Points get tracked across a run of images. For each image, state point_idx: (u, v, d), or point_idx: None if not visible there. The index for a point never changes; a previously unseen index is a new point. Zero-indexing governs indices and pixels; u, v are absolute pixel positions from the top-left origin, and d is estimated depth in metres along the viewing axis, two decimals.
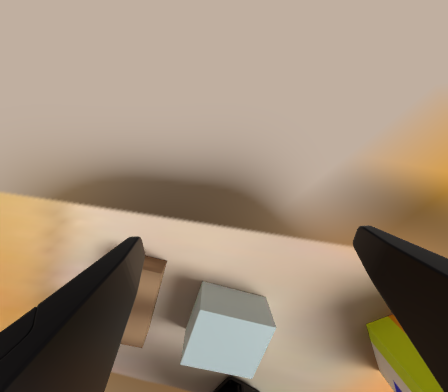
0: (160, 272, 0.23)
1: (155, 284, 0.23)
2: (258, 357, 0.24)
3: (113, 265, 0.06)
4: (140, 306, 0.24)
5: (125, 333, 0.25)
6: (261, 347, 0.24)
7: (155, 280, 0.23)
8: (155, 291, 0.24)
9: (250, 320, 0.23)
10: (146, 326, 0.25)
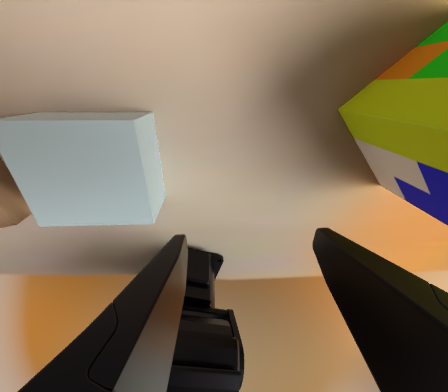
0: None
1: None
2: (140, 187, 0.15)
3: (171, 262, 0.06)
4: None
5: None
6: (133, 167, 0.14)
7: None
8: None
9: (83, 120, 0.13)
10: None
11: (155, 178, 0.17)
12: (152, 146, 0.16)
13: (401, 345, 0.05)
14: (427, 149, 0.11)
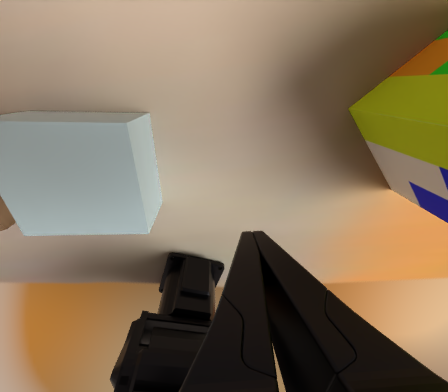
0: None
1: None
2: (134, 195, 0.14)
3: (256, 258, 0.06)
4: None
5: None
6: (126, 174, 0.13)
7: None
8: None
9: (70, 121, 0.11)
10: None
11: (151, 184, 0.16)
12: (148, 150, 0.15)
13: (294, 352, 0.05)
14: None
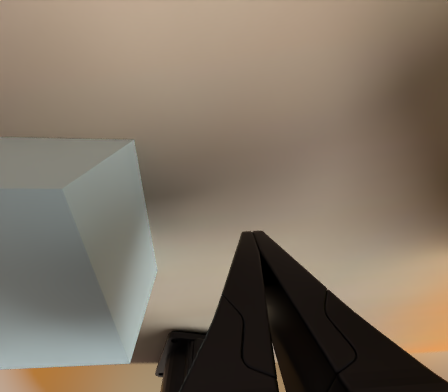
0: None
1: None
2: (97, 315, 0.07)
3: (256, 258, 0.06)
4: None
5: None
6: (75, 284, 0.06)
7: None
8: None
9: None
10: None
11: (136, 266, 0.09)
12: (129, 209, 0.08)
13: (294, 352, 0.05)
14: None
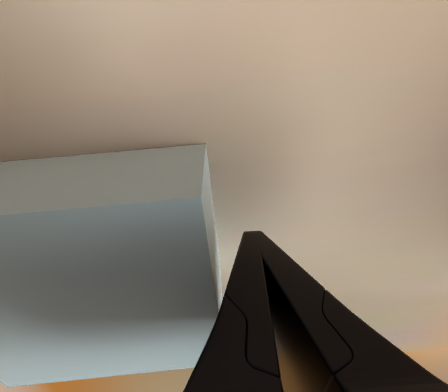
0: None
1: None
2: (206, 318, 0.07)
3: (259, 257, 0.06)
4: None
5: None
6: (192, 289, 0.06)
7: None
8: None
9: (67, 205, 0.05)
10: None
11: (217, 268, 0.09)
12: (211, 214, 0.08)
13: (292, 352, 0.05)
14: None
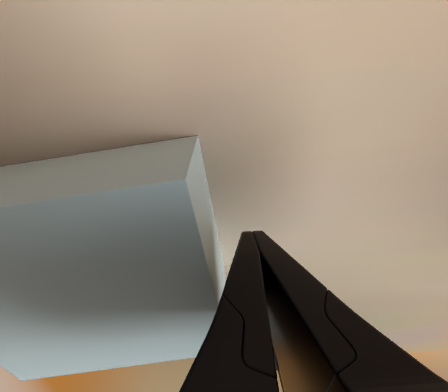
0: None
1: None
2: (205, 305, 0.07)
3: (257, 257, 0.06)
4: None
5: None
6: (188, 276, 0.06)
7: None
8: None
9: (56, 195, 0.05)
10: None
11: (217, 258, 0.09)
12: (207, 203, 0.08)
13: (294, 352, 0.05)
14: None
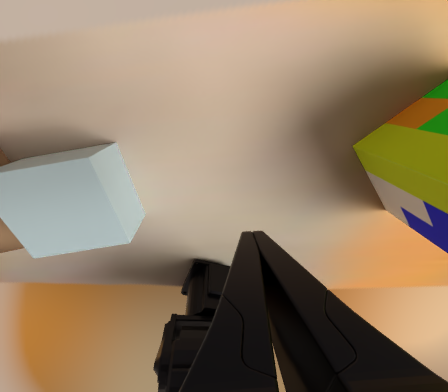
0: None
1: None
2: (110, 212, 0.17)
3: (256, 257, 0.06)
4: None
5: (8, 235, 0.20)
6: (99, 197, 0.16)
7: None
8: None
9: (47, 164, 0.15)
10: None
11: (127, 201, 0.19)
12: (118, 173, 0.18)
13: (294, 352, 0.05)
14: (432, 194, 0.14)
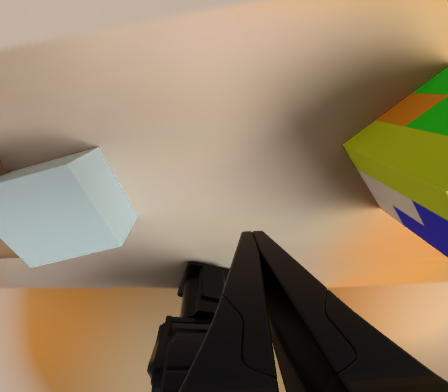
0: None
1: None
2: (96, 218, 0.17)
3: (256, 258, 0.06)
4: None
5: None
6: (83, 203, 0.16)
7: None
8: None
9: (28, 174, 0.15)
10: None
11: (115, 205, 0.19)
12: (103, 178, 0.18)
13: (294, 352, 0.05)
14: (419, 194, 0.14)
